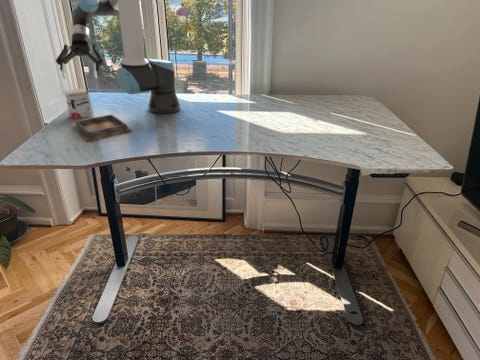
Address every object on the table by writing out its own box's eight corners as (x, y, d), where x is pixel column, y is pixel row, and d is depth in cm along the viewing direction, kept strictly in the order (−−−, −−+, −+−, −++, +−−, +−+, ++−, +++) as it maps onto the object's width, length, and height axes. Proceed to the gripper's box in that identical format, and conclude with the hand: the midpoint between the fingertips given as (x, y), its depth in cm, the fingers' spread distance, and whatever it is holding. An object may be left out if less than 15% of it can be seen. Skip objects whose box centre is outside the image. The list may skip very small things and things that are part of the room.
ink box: (72, 119, 151) (66, 92, 145) (70, 116, 154) (64, 90, 148) (92, 116, 155) (87, 90, 149) (89, 113, 158) (84, 88, 153)
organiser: (114, 119, 152) (113, 113, 151) (131, 131, 140) (131, 124, 139) (72, 127, 142) (70, 121, 140) (87, 141, 130) (85, 134, 129)
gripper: (109, 43, 167) (109, 81, 162) (55, 42, 163) (53, 81, 158) (106, 32, 160) (106, 72, 155) (49, 31, 156) (47, 72, 150)
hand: (79, 77), depth 156 cm, fingers open, 13 cm apart
